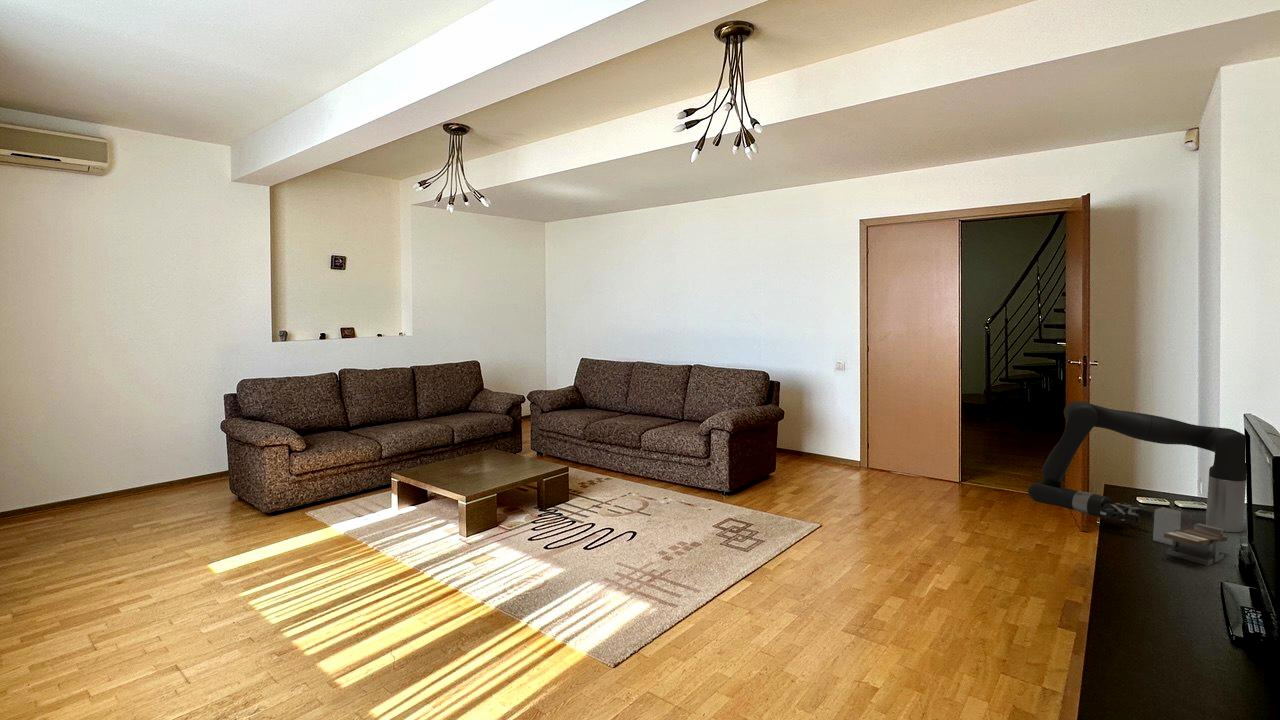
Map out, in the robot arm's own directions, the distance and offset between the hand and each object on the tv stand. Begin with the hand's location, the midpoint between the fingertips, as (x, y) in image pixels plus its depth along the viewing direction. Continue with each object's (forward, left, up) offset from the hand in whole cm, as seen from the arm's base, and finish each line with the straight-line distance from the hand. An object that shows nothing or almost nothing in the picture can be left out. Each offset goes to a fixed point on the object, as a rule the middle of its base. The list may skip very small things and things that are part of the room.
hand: (1146, 517), depth 209 cm
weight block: (0, +6, -6) cm, 8 cm away
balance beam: (+7, +16, 0) cm, 17 cm away
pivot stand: (+7, +16, -6) cm, 18 cm away
